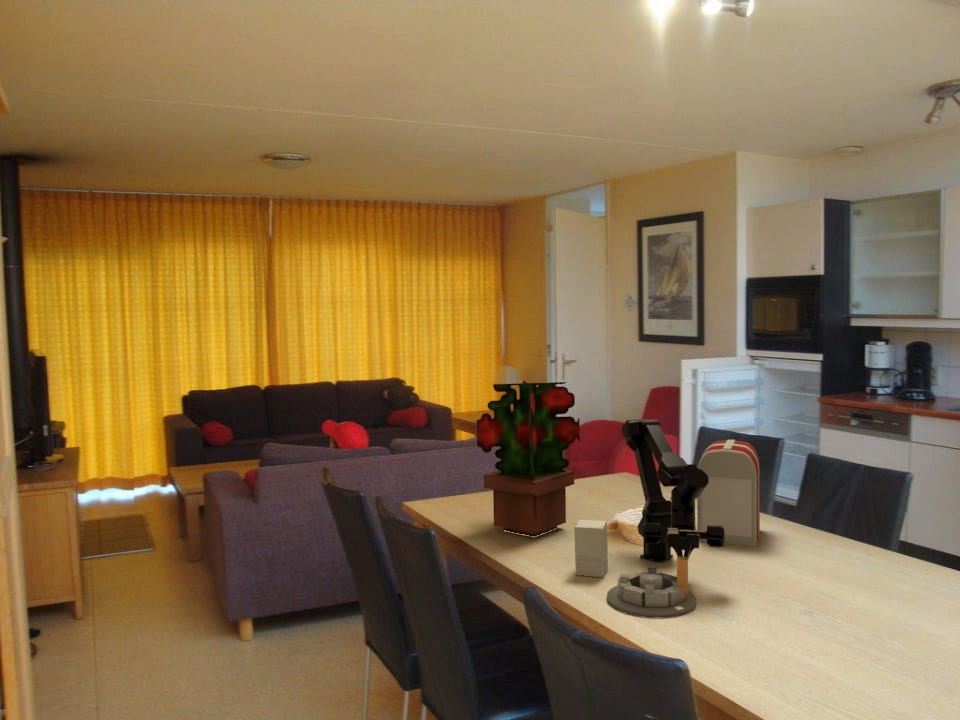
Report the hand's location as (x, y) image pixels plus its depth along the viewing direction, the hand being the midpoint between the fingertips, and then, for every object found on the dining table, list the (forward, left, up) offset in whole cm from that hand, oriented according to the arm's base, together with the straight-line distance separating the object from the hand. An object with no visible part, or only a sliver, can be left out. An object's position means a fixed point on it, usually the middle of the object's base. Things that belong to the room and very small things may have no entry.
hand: (683, 567), depth 185 cm
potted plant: (-64, +15, -7) cm, 66 cm away
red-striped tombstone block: (-18, +51, -7) cm, 55 cm away
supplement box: (-26, -2, -7) cm, 27 cm away
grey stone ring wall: (-3, -8, -5) cm, 10 cm away
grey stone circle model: (-4, -8, -7) cm, 11 cm away
